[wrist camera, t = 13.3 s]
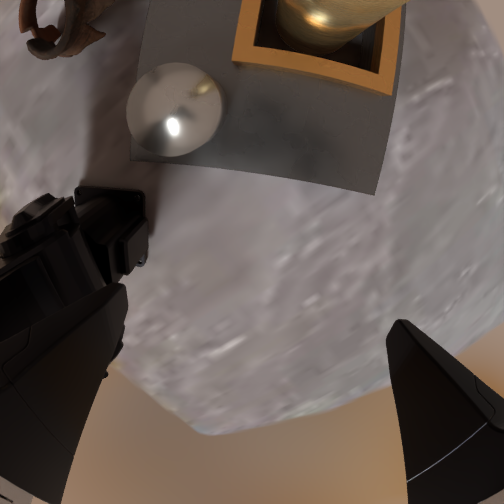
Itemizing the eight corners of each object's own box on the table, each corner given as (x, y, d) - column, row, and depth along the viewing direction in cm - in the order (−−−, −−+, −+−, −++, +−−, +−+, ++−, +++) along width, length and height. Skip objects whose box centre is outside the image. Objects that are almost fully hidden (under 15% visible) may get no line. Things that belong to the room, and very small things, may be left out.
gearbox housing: (144, 154, 19) (108, 170, 14) (175, -38, 11) (152, -70, 6) (362, 185, 19) (392, 211, 15) (392, -5, 12) (426, -29, 7)
